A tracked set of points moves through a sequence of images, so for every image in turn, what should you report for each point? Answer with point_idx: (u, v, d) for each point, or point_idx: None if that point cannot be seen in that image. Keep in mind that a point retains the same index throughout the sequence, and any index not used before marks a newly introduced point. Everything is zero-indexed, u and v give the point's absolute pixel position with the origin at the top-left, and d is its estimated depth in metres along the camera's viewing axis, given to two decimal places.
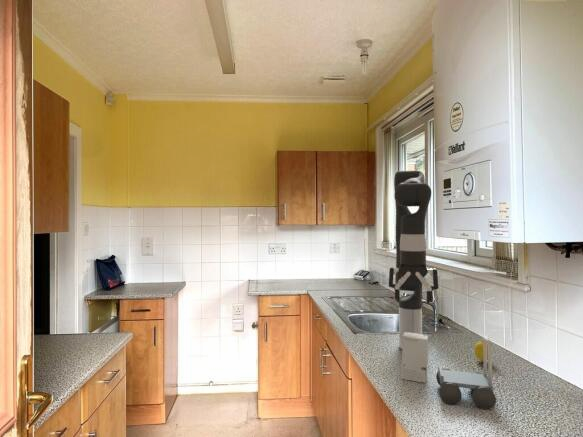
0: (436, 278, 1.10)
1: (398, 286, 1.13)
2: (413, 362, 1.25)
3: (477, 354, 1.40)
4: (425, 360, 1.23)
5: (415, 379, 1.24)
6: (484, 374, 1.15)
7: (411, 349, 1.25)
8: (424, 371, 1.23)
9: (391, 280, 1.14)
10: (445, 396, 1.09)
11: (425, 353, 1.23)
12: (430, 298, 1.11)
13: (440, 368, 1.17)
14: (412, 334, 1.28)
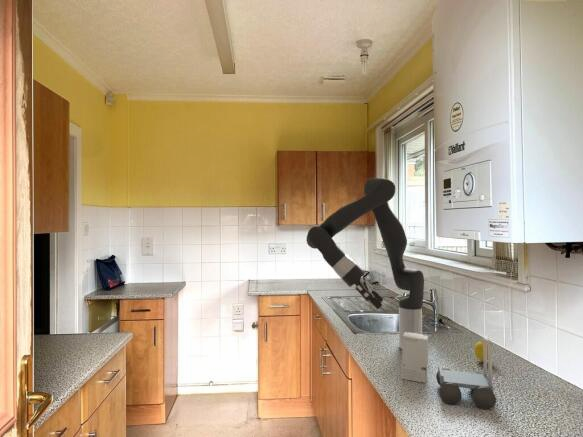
0: (360, 293, 1.26)
1: None
2: (413, 362, 1.25)
3: (477, 354, 1.40)
4: (425, 360, 1.23)
5: (415, 379, 1.24)
6: (484, 374, 1.15)
7: (411, 349, 1.25)
8: (424, 371, 1.23)
9: None
10: (445, 396, 1.09)
11: (425, 353, 1.23)
12: (375, 305, 1.26)
13: (440, 368, 1.17)
14: (412, 334, 1.28)
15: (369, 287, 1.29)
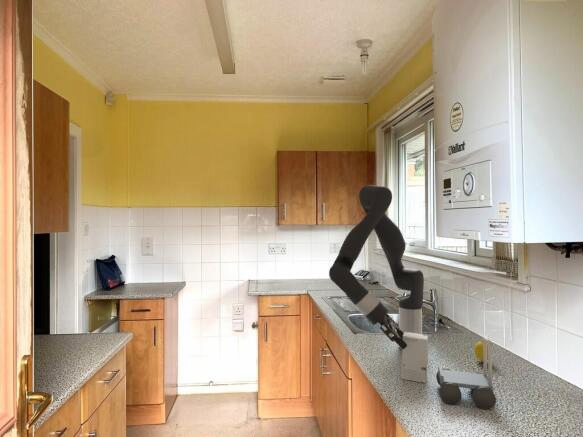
0: (385, 334, 1.24)
1: None
2: (413, 362, 1.25)
3: (477, 354, 1.40)
4: (425, 360, 1.23)
5: (415, 379, 1.24)
6: (484, 374, 1.15)
7: (411, 349, 1.25)
8: (424, 371, 1.23)
9: None
10: (445, 396, 1.09)
11: (425, 353, 1.23)
12: (400, 345, 1.24)
13: (440, 368, 1.17)
14: (412, 334, 1.28)
15: (393, 326, 1.27)
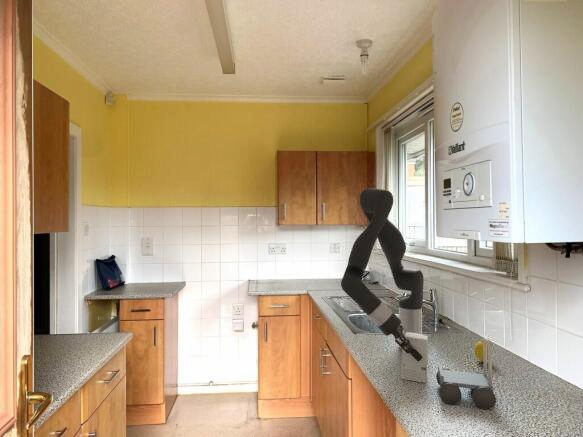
0: (400, 346, 1.22)
1: None
2: (413, 362, 1.25)
3: (477, 354, 1.40)
4: (425, 360, 1.23)
5: (415, 379, 1.24)
6: (484, 374, 1.15)
7: None
8: (424, 371, 1.23)
9: None
10: (445, 396, 1.09)
11: (425, 353, 1.23)
12: (415, 357, 1.23)
13: (440, 368, 1.17)
14: (412, 334, 1.28)
15: None
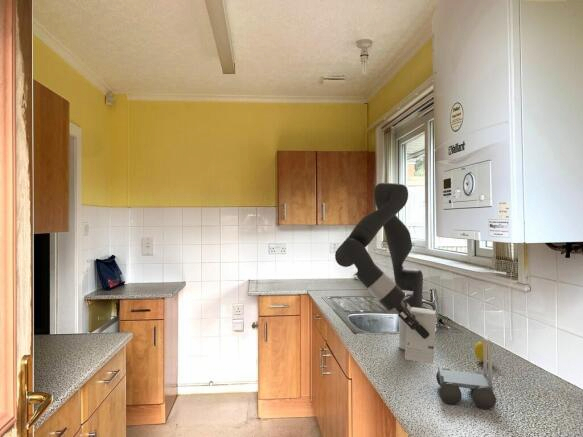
0: (404, 321, 1.07)
1: None
2: (418, 340, 1.10)
3: (477, 354, 1.40)
4: (432, 337, 1.08)
5: (421, 359, 1.09)
6: (484, 374, 1.15)
7: None
8: (431, 350, 1.08)
9: None
10: (445, 396, 1.09)
11: (432, 330, 1.08)
12: (421, 334, 1.08)
13: (440, 368, 1.17)
14: (417, 309, 1.13)
15: None
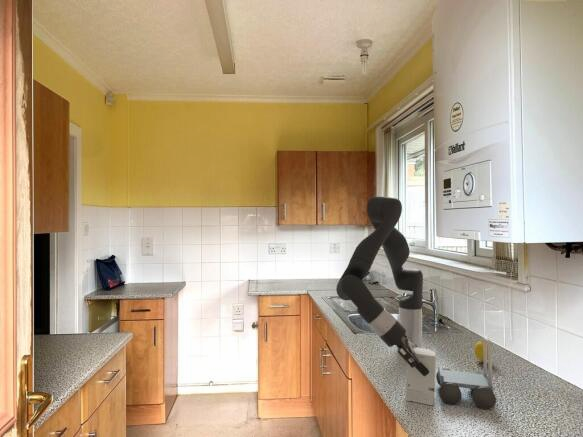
0: (404, 358, 1.07)
1: None
2: (419, 381, 1.10)
3: (477, 354, 1.40)
4: (433, 379, 1.09)
5: (421, 401, 1.10)
6: (484, 374, 1.15)
7: None
8: (432, 392, 1.09)
9: None
10: (445, 396, 1.09)
11: (433, 371, 1.09)
12: (421, 372, 1.07)
13: (440, 368, 1.17)
14: (418, 349, 1.13)
15: (413, 349, 1.11)
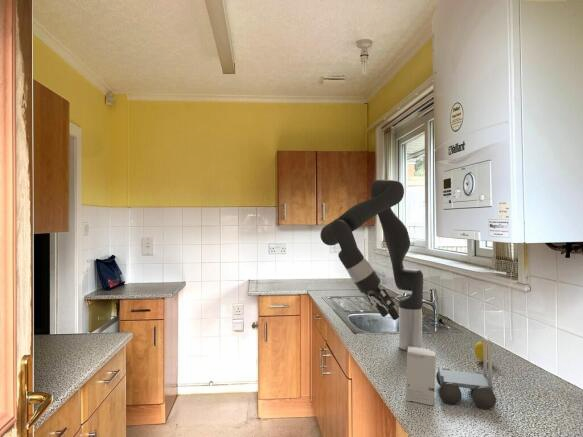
0: (383, 300, 1.14)
1: (374, 305, 1.24)
2: (419, 381, 1.10)
3: (477, 354, 1.40)
4: (433, 379, 1.09)
5: (421, 401, 1.10)
6: (484, 374, 1.15)
7: (417, 367, 1.10)
8: (432, 392, 1.09)
9: (369, 300, 1.26)
10: (445, 396, 1.09)
11: (433, 371, 1.09)
12: (393, 315, 1.15)
13: (440, 368, 1.17)
14: (417, 349, 1.13)
15: None
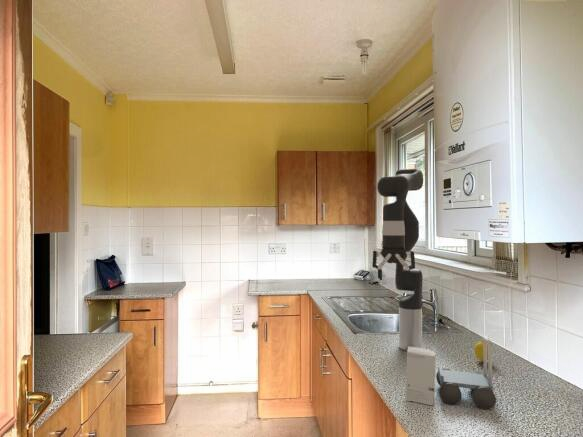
0: (413, 259, 1.26)
1: (380, 266, 1.29)
2: (419, 381, 1.10)
3: (477, 354, 1.40)
4: (433, 379, 1.09)
5: (421, 401, 1.10)
6: (484, 374, 1.15)
7: (417, 367, 1.10)
8: (432, 392, 1.09)
9: (374, 261, 1.30)
10: (445, 396, 1.09)
11: (433, 371, 1.09)
12: (408, 276, 1.27)
13: (440, 368, 1.17)
14: (417, 349, 1.13)
15: None
